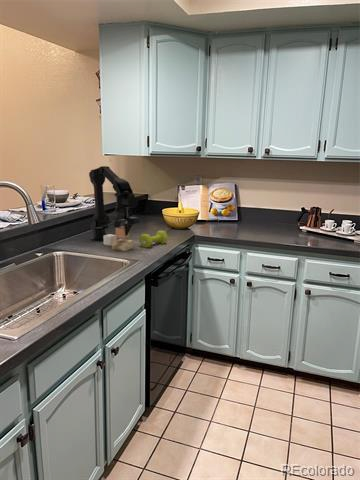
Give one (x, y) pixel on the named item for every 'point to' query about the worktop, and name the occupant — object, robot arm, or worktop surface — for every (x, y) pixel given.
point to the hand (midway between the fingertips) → (122, 235)
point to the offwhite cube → (109, 239)
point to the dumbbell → (153, 239)
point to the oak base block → (122, 244)
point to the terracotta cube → (121, 232)
